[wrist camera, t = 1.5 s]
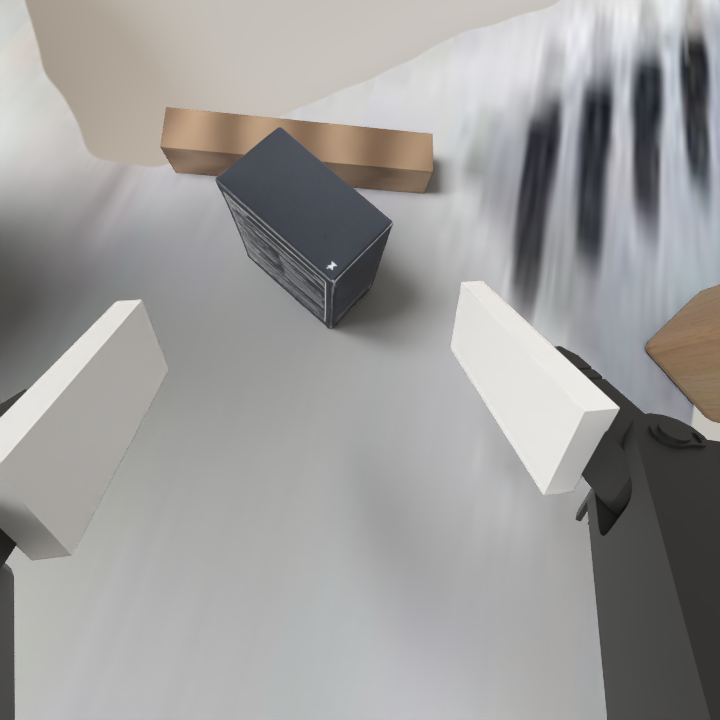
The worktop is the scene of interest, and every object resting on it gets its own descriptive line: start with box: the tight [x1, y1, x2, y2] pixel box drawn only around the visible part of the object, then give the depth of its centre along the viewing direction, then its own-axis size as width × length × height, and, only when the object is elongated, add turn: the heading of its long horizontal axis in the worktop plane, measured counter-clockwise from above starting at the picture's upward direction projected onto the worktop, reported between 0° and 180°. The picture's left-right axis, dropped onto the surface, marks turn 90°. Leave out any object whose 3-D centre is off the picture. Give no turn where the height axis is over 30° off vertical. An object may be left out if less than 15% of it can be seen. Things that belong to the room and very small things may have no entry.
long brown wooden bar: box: [161, 107, 433, 193], centre depth 34 cm, size 24×4×4 cm, turn 89°
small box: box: [216, 127, 393, 328], centre depth 28 cm, size 11×6×10 cm, turn 49°
